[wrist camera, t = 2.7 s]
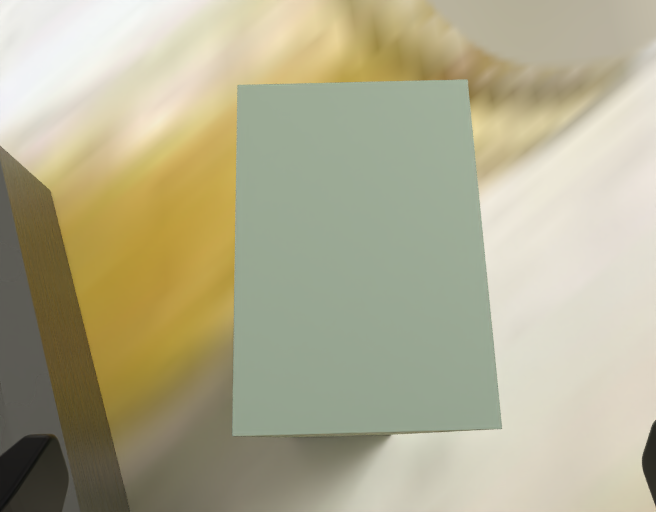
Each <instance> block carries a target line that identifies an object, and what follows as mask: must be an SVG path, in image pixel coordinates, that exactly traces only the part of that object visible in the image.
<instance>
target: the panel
mask: <svg viewBox="0 0 656 512" xmlns="http://www.w3.org/2000/svg"><path fill="white" fill-rule="evenodd" d="M489 429H502V423H501V413H500V403H499V393H498V383H497V373H496V363H495V353H494V342H493V332H492V322H491V312H490V302H489V292H488V282H487V272H486V262H485V252H484V242H483V232H482V222H481V211H480V201H479V191H478V181H477V171H476V161H475V151H474V141H473V131H472V121H471V111H470V101H469V90H468V80H430V81H388V82H346V83H304V84H262V85H238V91H237V156H236V221H235V286H234V351H233V417H232V436H252V437H320V436H357V435H393V434H412V433H431V432H450V431H470V430H489Z"/></svg>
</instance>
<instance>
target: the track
mask: <svg viewBox="0 0 656 512" xmlns="http://www.w3.org/2000/svg"><path fill="white" fill-rule="evenodd" d="M30 434H53V435H55V436H56V437H57V438H58V440H59V443H60V446H61V450H62V453H63V456H64V459H65V462H66V466H67V469H68V473H69V484H68V490H67V494H66V498H65V502H64V506H63V510H62V512H130V510H129V506H128V502H127V498H126V494H125V489H124V485H123V481H122V477H121V473H120V469H119V465H118V461H117V457H116V453H115V449H114V445H113V441H112V437H111V433H110V429H109V425H108V421H107V417H106V413H105V409H104V405H103V401H102V397H101V393H100V389H99V385H98V381H97V377H96V373H95V369H94V365H93V361H92V357H91V353H90V349H89V345H88V341H87V336H86V332H85V328H84V324H83V320H82V316H81V312H80V308H79V304H78V300H77V296H76V292H75V288H74V284H73V280H72V276H71V272H70V268H69V264H68V260H67V256H66V252H65V248H64V244H63V240H62V236H61V232H60V228H59V224H58V220H57V216H56V212H55V208H54V204H53V200H52V196H51V192H50V190H49V189H48V188H47V187H46V186H45V185H43V184H42V183H41V182H40V181H39V180H38V179H37V178H36V177H34V176H33V175H32V174H31V173H30V172H29V171H28V170H27V169H26V168H24V167H23V166H22V165H21V164H20V163H19V162H18V161H17V160H15V159H14V158H13V157H12V156H11V155H10V154H9V153H8V152H6V151H5V150H4V149H3V148H2V147H1V146H0V456H1V455H2V454H3V453H4V452H6V451H7V450H8V449H9V448H10V447H12V446H13V445H14V444H15V443H17V442H18V441H19V440H20V439H21V438H23V437H24V436H26V435H30Z"/></svg>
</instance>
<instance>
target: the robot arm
mask: <svg viewBox="0 0 656 512" xmlns="http://www.w3.org/2000/svg"><path fill="white" fill-rule="evenodd" d="M642 467H643V472H644V475H645V478H646V481H647V484H648V486H649V489H650V492H651V495H652V498H653V500H654V503H655V506H656V420H655V421H654V422H653V424H652V427H651V430H650V433H649V437H648V440H647V443H646V446H645V449H644V452H643V456H642ZM68 484H69V473H68V469H67V466H66V462H65V459H64V456H63V453H62V450H61V446H60V443H59V440H58V438H57V437H56V436H55V435H53V434H30V435H26V436H24V437H23V438H21V439H20V440H19V441H18V442H17V443H15V444H14V445H13V446H12V447H10V448H9V449H8V450H7V451H6V452H4V453H3V454H2V455H1V456H0V512H62V510H63V506H64V502H65V498H66V494H67V490H68Z"/></svg>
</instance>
